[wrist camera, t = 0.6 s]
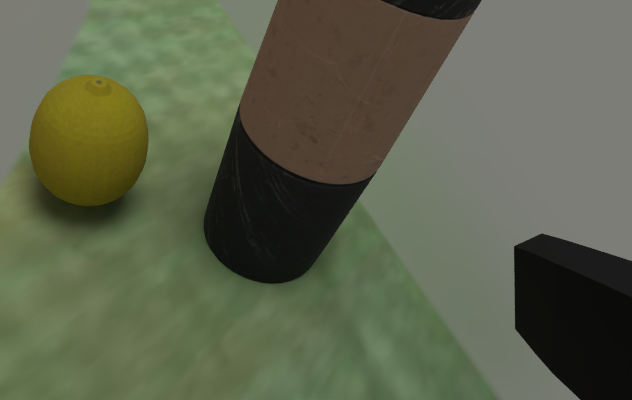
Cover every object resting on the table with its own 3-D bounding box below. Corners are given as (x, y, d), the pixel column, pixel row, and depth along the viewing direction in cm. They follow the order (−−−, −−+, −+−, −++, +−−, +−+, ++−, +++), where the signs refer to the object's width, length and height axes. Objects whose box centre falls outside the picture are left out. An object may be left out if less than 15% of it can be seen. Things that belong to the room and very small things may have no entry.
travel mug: (225, 300, 31) (396, -55, 18) (180, 192, 35) (292, -168, 22) (342, 274, 35) (551, -29, 22) (290, 181, 39) (441, -127, 26)
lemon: (15, 166, 32) (18, 43, 27) (116, 154, 35) (138, 43, 30) (42, 245, 29) (51, 128, 24) (149, 225, 33) (179, 118, 27)
